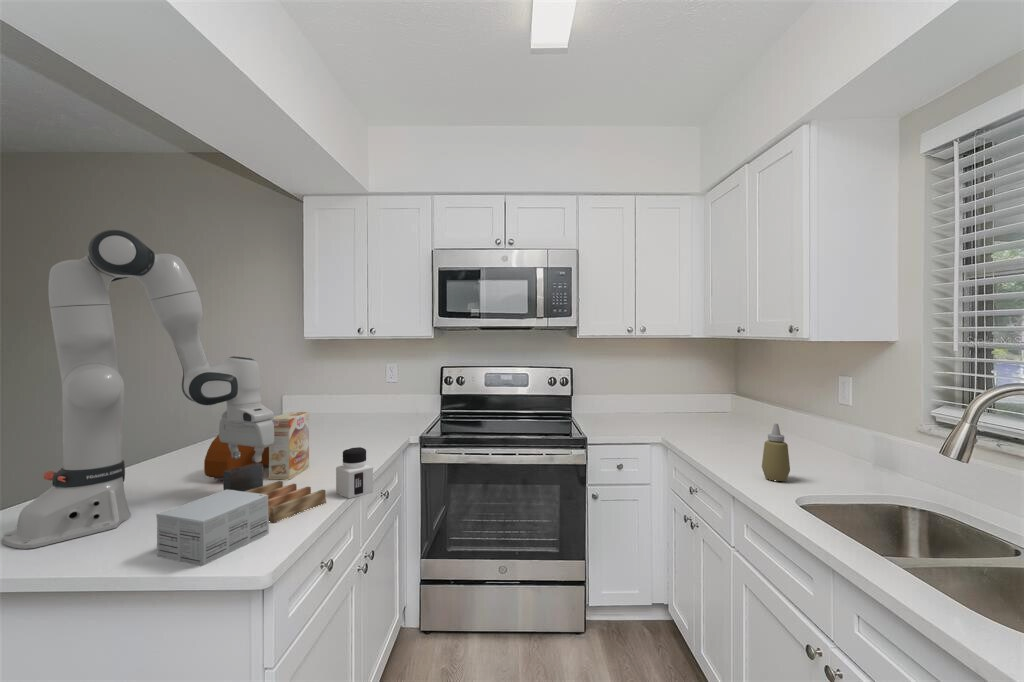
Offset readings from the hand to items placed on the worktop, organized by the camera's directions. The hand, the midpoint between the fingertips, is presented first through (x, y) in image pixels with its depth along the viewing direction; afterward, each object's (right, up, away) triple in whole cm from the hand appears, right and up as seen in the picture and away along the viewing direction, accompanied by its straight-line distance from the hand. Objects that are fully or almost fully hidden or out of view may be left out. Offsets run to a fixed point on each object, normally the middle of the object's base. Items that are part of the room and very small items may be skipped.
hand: (246, 460), depth 140 cm
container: (+31, -10, +2) cm, 32 cm away
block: (-1, -10, 0) cm, 10 cm away
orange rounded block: (-13, -10, +22) cm, 27 cm away
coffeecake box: (+3, -10, +21) cm, 24 cm away
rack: (+14, -10, -10) cm, 20 cm away
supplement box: (+12, -11, -34) cm, 37 cm away
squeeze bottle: (+161, -10, +16) cm, 162 cm away
